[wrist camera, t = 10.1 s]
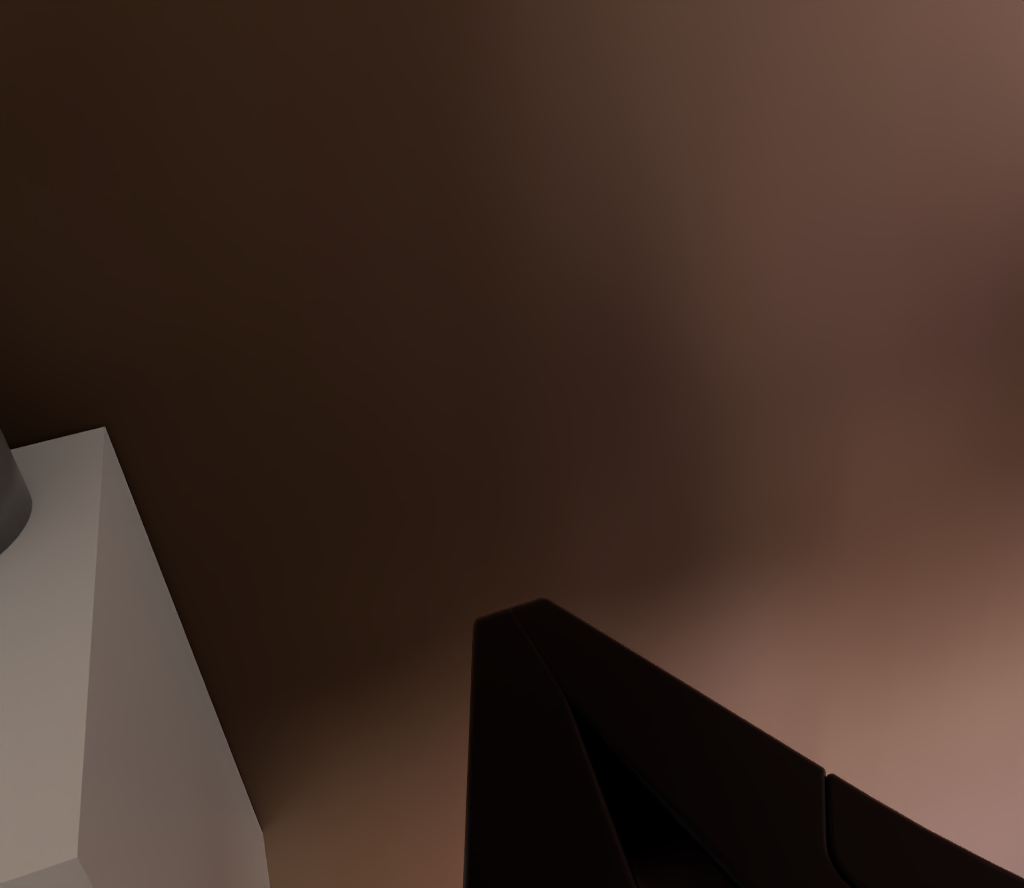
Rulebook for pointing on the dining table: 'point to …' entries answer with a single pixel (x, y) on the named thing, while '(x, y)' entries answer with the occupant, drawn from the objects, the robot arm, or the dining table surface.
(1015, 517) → the dining table surface
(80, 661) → the trolley
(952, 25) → the dining table surface
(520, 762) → the robot arm
